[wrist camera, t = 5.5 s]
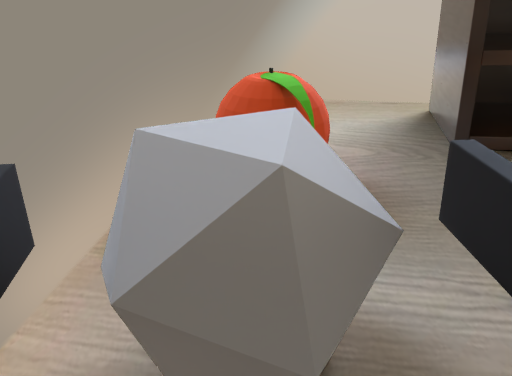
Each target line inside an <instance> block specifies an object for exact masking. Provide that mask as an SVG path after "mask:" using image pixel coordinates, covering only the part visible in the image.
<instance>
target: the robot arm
mask: <svg viewBox="0 0 512 376" xmlns="http://www.w3.org/2000/svg"><path fill="white" fill-rule="evenodd" d="M439 220H440V221H441V222H442V223H443V224H444V225H445V226H446V227H447V228H448V230H449V231H450V232H451V233H452V234H453V235H454V236H455V237H456V238H457V239H458V240H459V241H460V242H461V243H462V244H463V245H464V247H465V248H466V249H467V250H468V251H469V252H470V253H471V254H472V255H473V256H474V257H475V258H476V259H477V260H478V261H479V263H480V264H481V265H482V266H483V267H484V268H485V269H486V270H487V271H488V272H489V273H490V274H491V275H492V276H493V277H494V278H495V280H496V281H497V282H498V283H499V284H500V285H501V286H502V287H503V288H504V289H505V290H506V291H507V292H508V293H509V294H510V296H511V297H512V162H510V161H508V160H507V159H505V158H504V157H502V156H500V155H499V154H497V153H495V152H494V151H492V150H491V149H489V148H487V147H486V146H484V145H483V144H481V143H479V142H478V141H476V140H474V139H469V140H451V141H450V146H449V153H448V160H447V167H446V174H445V181H444V188H443V194H442V201H441V208H440V215H439ZM34 246H35V245H34V241H33V237H32V233H31V229H30V225H29V221H28V217H27V213H26V208H25V204H24V200H23V196H22V192H21V188H20V184H19V180H18V176H17V172H16V168H15V164H2V165H0V298H1V297H2V295H3V294H4V292H5V291H6V289H7V287H8V286H9V284H10V283H11V281H12V280H13V278H14V277H15V275H16V274H17V272H18V270H19V269H20V267H21V266H22V264H23V263H24V261H25V260H26V258H27V256H28V255H29V253H30V252H31V250H32V249H33V247H34Z"/></svg>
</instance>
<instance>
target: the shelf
mask: <svg viewBox="0 0 512 376" xmlns="http://www.w3.org/2000/svg"><path fill="white" fill-rule="evenodd" d="M429 111H430V112H431V114H432V116H433V117H434V119H435V120H436V122H437V123H438V125H439V127H440V128H441V130H442V131H443V133H444V134H445V136H446V138H447V139H448V141H449V142H450V141H451V140H469V139H474V140H476V141H478V142H479V143H481V144H483V145H484V146H486V147H487V148H489V149H491V150H512V0H442V6H441V14H440V22H439V31H438V39H437V47H436V55H435V63H434V72H433V80H432V88H431V97H430V104H429Z"/></svg>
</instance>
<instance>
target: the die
mask: <svg viewBox="0 0 512 376" xmlns="http://www.w3.org/2000/svg"><path fill="white" fill-rule="evenodd" d="M402 232H403V229H402V228H401V227H400V226H399V225H398V224H397V223H396V221H395V220H394V219H393V218H392V217H391V216H390V215H389V213H388V212H387V211H386V210H385V209H384V208H383V207H382V205H381V204H380V203H379V202H378V201H377V200H376V199H375V198H374V196H373V195H372V194H371V193H370V192H369V191H368V190H367V188H366V187H365V186H364V185H363V184H362V183H361V182H360V180H359V179H358V178H357V177H356V176H355V175H354V174H353V172H352V171H351V170H350V169H349V168H348V167H347V166H346V164H345V163H344V162H343V161H342V160H341V159H340V158H339V156H338V155H337V154H336V153H335V152H334V151H333V150H332V149H331V147H330V146H329V145H328V144H327V143H326V142H325V141H324V139H323V138H322V137H321V136H320V135H319V134H318V133H317V131H316V130H315V129H314V128H313V127H312V126H311V125H310V123H309V122H308V121H307V120H306V119H305V118H304V117H303V115H302V114H301V113H300V112H299V111H298V110H297V109H296V107H294V108H286V109H279V110H271V111H264V112H256V113H249V114H242V115H234V116H227V117H219V118H212V119H205V120H198V121H190V122H183V123H175V124H167V125H160V126H153V127H145V128H138V129H135V131H134V136H133V139H132V143H131V147H130V151H129V155H128V160H127V163H126V167H125V172H124V176H123V180H122V184H121V188H120V192H119V196H118V200H117V204H116V208H115V212H114V216H113V220H112V224H111V228H110V232H109V236H108V240H107V244H106V248H105V252H104V256H103V260H102V264H101V270H102V273H103V277H104V281H105V285H106V288H107V292H108V296H109V300H110V304H111V306H112V307H113V308H114V310H115V311H116V312H117V314H118V315H119V316H120V318H121V319H122V320H123V322H124V323H125V324H126V326H127V327H128V328H129V330H130V331H131V332H132V334H133V335H134V336H135V338H136V339H137V340H138V342H139V343H140V344H141V346H142V347H143V348H144V350H145V351H146V352H147V354H148V355H149V356H150V358H151V359H152V360H153V362H154V363H155V364H156V366H157V367H158V368H159V370H160V371H161V372H162V374H163V375H164V376H320V374H321V372H322V371H323V369H324V368H325V366H326V364H327V363H328V361H329V360H330V358H331V356H332V355H333V353H334V351H335V350H336V348H337V346H338V344H339V343H340V341H341V339H342V337H343V336H344V334H345V332H346V330H347V329H348V327H349V325H350V323H351V322H352V320H353V318H354V316H355V315H356V313H357V311H358V309H359V308H360V306H361V304H362V302H363V301H364V299H365V297H366V295H367V294H368V292H369V290H370V288H371V287H372V285H373V283H374V281H375V280H376V278H377V276H378V274H379V273H380V271H381V269H382V267H383V266H384V264H385V262H386V260H387V259H388V257H389V255H390V253H391V252H392V250H393V248H394V246H395V245H396V243H397V241H398V239H399V238H400V236H401V234H402Z"/></svg>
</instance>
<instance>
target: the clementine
mask: <svg viewBox="0 0 512 376" xmlns="http://www.w3.org/2000/svg"><path fill="white" fill-rule="evenodd" d="M294 107H296V109H297V110H298V111H299V112H300V113H301V114H302V115H303V117H304V118H305V119H306V120H307V121H308V122H309V123H310V125H311V126H312V127H313V128H314V129H315V130H316V131H317V133H318V134H319V135H320V136H321V137H322V138H323V139H324V141H325V142H326V143H327V144H328V140H329V134H330V124H329V114H328V112H327V109H326V106H325V104H324V101H323V99H322V98H321V97H320V96H319V94H318V93H317V92H316V90H315V89H314V88H313V87H312V86H311V85H310V84H308V83H307V82H305V81H304V80H303V79H302V78H300V77H299V76H297V75H295V74H291V73H287V72H275V71H273V68H269V72H259V73H255V74H251V75H248V76H246V77H245V78H243V79H242V80H241V81H239V82H238V83H237V84H236V85H235V86H233V87H232V88H231V89H230V90H229V91H228V93H227V94H226V96H225V97H224V98H223V100H222V101H221V103H220V106H219V109H218V112H217V114H216V118H219V117H227V116H234V115H242V114H249V113H256V112H264V111H271V110H279V109H286V108H294Z"/></svg>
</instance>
